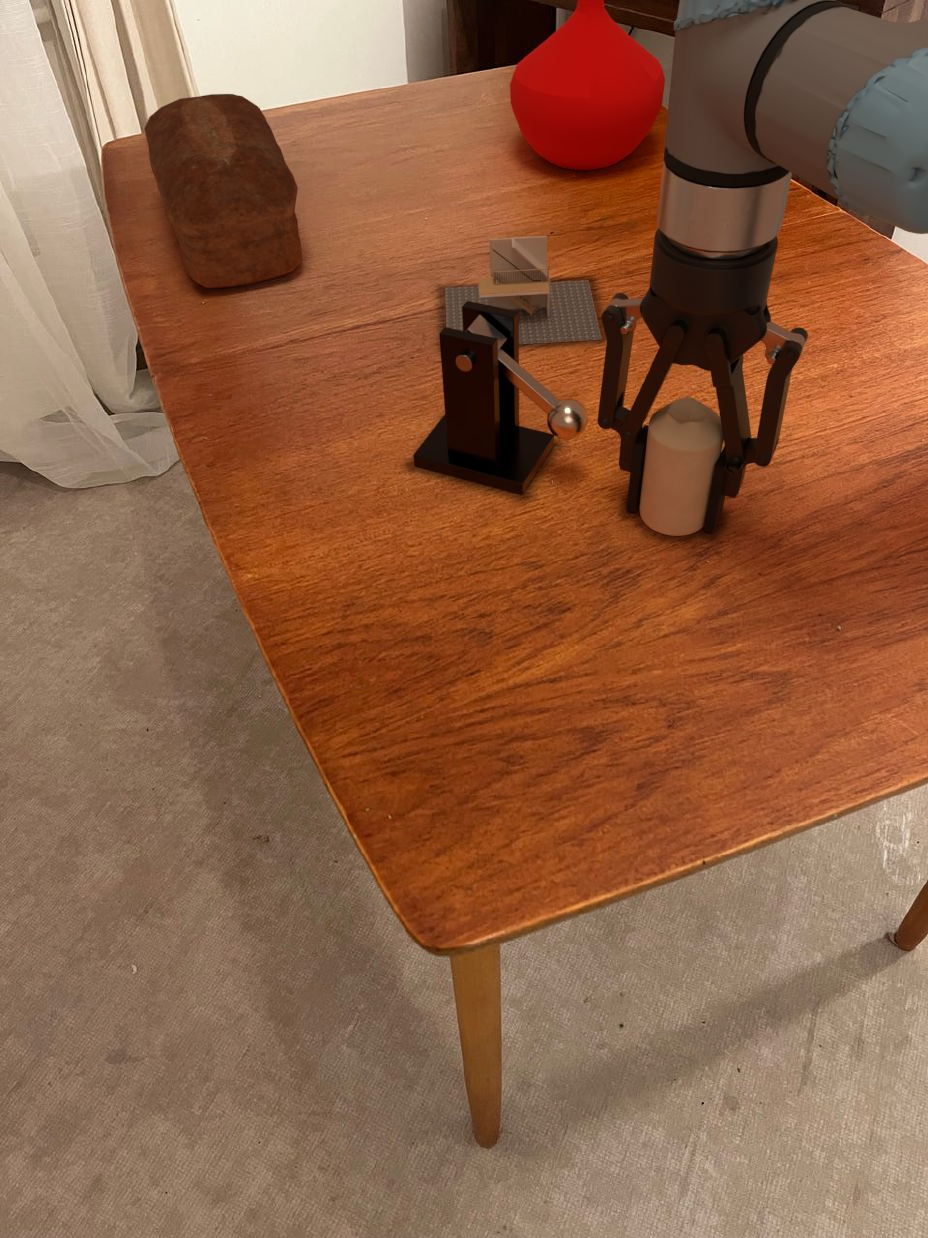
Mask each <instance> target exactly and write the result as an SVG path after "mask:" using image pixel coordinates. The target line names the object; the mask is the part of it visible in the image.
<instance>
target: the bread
mask: <svg viewBox="0 0 928 1238" xmlns="http://www.w3.org/2000/svg"><path fill="white" fill-rule="evenodd" d="M144 133H145V139H146V142H147V145H148V155H149V162H150V168H151V172H152V174H153V176H154V179H155V184H156V186H157V189H158V192H159V194H160V196H161V200H162V206H163V210H164V213H165V215H166V216H167V218H168V220H169V221H171V222H170V223H171V226H172V228H173V232H174V234H175V237H176V239H177V241H178V245H179V247H180V248H179V249H180V253H181V257H182V260H183V264H184V267H185V270H186V272H187V275H189V277H190V278H191V280H192V281H193V282H195V283H197V284H199V285H200V286H202V287H203V288H206V289H221V288H231V287H239V286H245V285H250V284H256V283H260V282H263V281H267V280H270V279H271V280H272V279H274V278H277V277H281V276H284V275H286V274H289V273H291V272H293V271H294V270H295V269H296V268H297V266H299V264H300V263H301V262H302V261H303V253H302V243H301V238H300V234H299V224H298V223H299V222H298V218H297V214H296V203H297V197H298V184H297V182H296V179H295V177H294V174H293V173H292V171H291V169H290V168H289V166H288V164H287V163H286V160H285V157H284V154H283V151H282V148H281V147H280V145H279V143H278V142H277V140H276V137H275V134H274V132H273V130H272V128H271V126H270V124H269V122H268V121H267V118H266V115H264V113H263V111H262V110H261V107H259V106H258V105H257V104H256V103H253V101H251V100H249V99H247V98H246V97H244V96H243V95H238V94H234V93H212V94H205V95H199V96H191V97H182V98H178V99H176V100H173V101H172V102H169V103H167V104H164V105H163V106H160V108H158V109H157V110H156V111H155V112H153V113H152V114H150V116H149V117H148V119H147V122H146V124H145V126H144Z"/></svg>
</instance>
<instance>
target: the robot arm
mask: <svg viewBox="0 0 928 1238" xmlns="http://www.w3.org/2000/svg"><path fill="white" fill-rule="evenodd" d="M673 31H675V32H674V43H673V51H672V52H673V54H672V63H671V74H670V86H669V95H668V105H667V106H668V107H667V115H666V117H667V118H666V125H665V137H664V151H663V159H662V167H661V174H660V175H661V176H660V184H659V191H658V192H659V193H658V199H657V200H658V201H657V209H656V210H657V211H656V218H655V219H656V226H657V227H658V228H657V229H656V230H655V233H654V238H653V239H654V241H653V249H652V258H651V259H652V260H651V266H650V267H651V268H650V278H649V287H648V290H647V291H646V293H645V295H644V297H635V298H629V296H628V295H626V294H625V293H623V292H617V293H615V294H614V295H613V296H612V298H611V300H610V301H609V303H608V304H607V306H606V307H605V309H604V310H603V311H602V313H601V316H600V318H601V319H600V320H601V324H602V327H603V331H604V335H605V339H606V344H605V352H604V353H605V354H604V361H603V371H602V381H601V387H600V395H599V405H598V412H597V420H596V421H597V425H598V427H599V428H601V429H603V430H610V429H612V430H613V431H615V432H616V433H617V434H618V435H619V437H620V443H619V455H618V466H619V469H620V471H624V472H628V473H629V480H628V491H627V500H626V501H627V502H626V511H627V512H630V513H635V514H636V513H637V510H638V509H639V506H640V495H641V487H642V478H643V470H644V461H645V452H646V444H647V435H648V427H649V424H648V425H647V424H644V423H645V421H646V419H647V418H648V416H649V413H650V411H651V409H652V407H653V405H654V403H655V401H656V399H657V398H658V395H659V393H660V391H661V389H662V387H663V385H664V383H665V381H666V379H667V376H668V374H669V373H670V370H671V369H672V366H673V365H674V364H675V365H678V366H680V365H681V366H694V367H697V368H699V369H701V370H703V371H708V372H710V378H711V384H712V387H713V388H715V393H716V398H717V399H716V400H717V406H718V411H719V416H720V419H721V425H722V432H723V438H724V441H723V447H722V451H721V454H720V457H719V459H718V461H717V463H716V465H715V471H714V476H713V481H712V487H711V492H710V497H709V503H708V508H707V514H706V519H705V524H704V526H703V529H702V531H703V532H705V533H710V534H714V531H715V530H716V527H717V524H718V523H719V520H720V518H721V516H722V513H723V509H724V504H725V500H726V497H727V498H732V499H735V498H736V497H737V496H738V495H739V494H740V493H739V492H740V490H741V488H742V485H743V484H744V478H745V476H746V475H745V474H746V470H747V466H748V465H750V464H755V465H756V466H758V467H760V468H764V467H765V468H766V467H768V466H769V465H771V462H772V459H773V458H774V454H775V452H776V450H777V446H778V444H779V441H780V435H781V432H782V426H783V420H784V416H785V415H784V414H785V410H786V409H785V408H786V404H787V399H788V394H789V388H790V382H791V378H792V372H793V368H794V367H795V365H796V364H797V363H798V361H799V359H800V357H801V355H802V352H803V350H804V348H805V345H806V343H807V341H808V338H809V333H808V332H807V330H806V329H805V328H804V327H801V326H799V327H797V326H796V327H794V328H792V329H791V330H788V329H786V328H784V327H782V326H780V324H779V325H778V324H777V323H775V322H772V316H771V315H772V314H771V312H770V310H769V307H768V306H769V305H768V296H769V290H770V286H771V281H772V276H773V272H774V266H775V262H776V257H777V252H778V245H779V240H778V235H779V233H780V231H781V229H782V228H783V223H784V217H785V211H786V206H787V201H788V196H789V190H790V186H791V181H792V175H795V176H796V177H798V178H800V179H801V180H803V181H805V182H807V183H808V184H810V185H812V186H814V187H816V188H817V189H819V190H821V191H822V192H824V193H825V194H827V195H829V196H831V197H833V198H834V199H836V200H838V201H839V202H841V203H842V204H844V205H846V207H847V208H848V209H849V210H850V211H853V212H855V213H857V214H858V215H861V216H862V217H867V216H869V217H870V218H871V219H873V220H875V221H876V220H878V221H882V222H884V223H886V224H889V225H891V226H894V227H896V228H898V229H900V230H902V231H904V232H907V233H911V234H916V235H927V234H928V17H925V18H921V19H917V20H914V21H910V22H900V21H899V22H898V21H890V20H887V19H884V18H881V17H878V16H875V15H871V14H868V13H866V12H862V11H859V10H857V9H855V8H853V7H851V6H849V5H847V4H845V3H843V2H841V1H839V0H679V3H678V10H677V15H676V19H675V20H674V22H673ZM641 319H642V320H643V323H645V325H646V326H647V328H648V330H649V332H650V334H651V335H652V337H653V339H654V340H655V342H656V344H657V345H658V349H657V352H656V354H655V356H654V358H653V360H652V363H651V365H650V367H649V370H648V372H647V373H646V376H645V378H644V380H643V382H642V385H641V387H640V389H639V391H638V393H637V395H636V397H635V399H634V402H633V404H632V405H631V407H630V409H628V408H627V407H625V406H624V404H625V397H626V390H627V384H628V383H627V382H628V377H629V369H630V361H631V356H632V348H633V340H634V335H635V330H636V329H637V328H638V325H639V324H640V322H641ZM759 342H762V343H763V344H764V346H765V352H764V357H765V359H766V363H767V364H769V365H771V367H770V368H769V371H768V374H767V376H766V381H765V386H764V393H763V397H762V398H763V399H762V404H761V411H760V416H759V422H758V429H757V435H756V437H752V430H751V422H750V415H749V409H748V399H747V392H746V385H745V377H744V369H743V367H744V366H743V365H744V355H745V354H746V353H747V352H748V351H750V350H751V349H752V348H753V347H754V346H756V345H757V344H758V343H759Z"/></svg>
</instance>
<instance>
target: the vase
mask: <svg viewBox="0 0 928 1238" xmlns="http://www.w3.org/2000/svg"><path fill="white" fill-rule="evenodd" d="M665 84H666V78H665V73H664V68H663V66H662V64H661V62H660V61H659V59H658V58H656V57H655V56H654V55H653V54H652V53H651V52H650V51H649V50H647V49H646V48H645V47H643V46H642V45H641V44H640V43H639V42H638V41H637V40H635V39H634V38H633V37H632V36H631V35H630V34H629V33H627V31H625V30H624V28H622V27H621V25H619V24H618V23H617V22H616V21H615V20H614V19H613V18H612V17H611V16H610V14H609V13H608V11H607V9H606V8H605V0H577V3H576V7H575V10H574V11H573V13H572V14H571V15H570V16H569V18H568V19H567V20H566V21H565V22H564V23H563V24H562V25H561V26H560V27H559V28H557V30H555V31H554V32H553V33H552V34H551V35H550V36H549V37H547V39H545V40H544V41H543V42H542V43H540V44H539V45H538V46H537V47H536V48H534V49H533V50H532V51H530V53H528V54H527V55H526V56H525V57H523V59H522V60H520V61H519V62H518V63H516V65H515V68H514V71H513V74H512V77H511V80H510V83H509V93H510V95H509V97H510V105H511V106H510V107H511V110H512V112H513V115H514V118H515V120H516V122H517V125H518V127H519V130H520V132H521V135H522V137H523V138H524V139H525V141H526V142H527V143H528V144H529V146H530V147H531V148H532V150H533V151H535V152H536V153H537V155H538V156H540V157H541V158H543V159H544V160H546V161H547V162H548V163H550V164H552V165H553V166H555V167H559V168H562V169H568V170H574V171H593V170H599V169H603V168H608V167H610V166H613V165H616V164H617V163H619V162H621V161H622V160H624V159H625V158H627V156H629V155H630V154H633V152H634V151H635V150H636V149H637V147H638V146H639V145H640V144H641V143H642V142H643V140H644V139H645V138H646V137H647V136H648V134H649V133H650V132H651V130H652V127H653V126H654V124H655V122H656V120H657V118H658V116H659V113H660V111H661V110H662V107H663V100H664V94H665V86H666V85H665Z"/></svg>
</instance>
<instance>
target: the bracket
mask: <svg viewBox="0 0 928 1238" xmlns="http://www.w3.org/2000/svg"><path fill="white" fill-rule="evenodd" d="M479 315H481V316H482V317H484V318H485V319H486V320H487V321H488V322H489V323H490V324H491V325H493V326H494V327H495V328H496V329H497V330H498V331H499V332H501V333H502V334H503V335H504V336H505V337H506V338H507V340H506V341H505V342H504V344H503V345H502V346H501V347H500V348H501V349H502V350H503V351H504V352H505V353H506V354H508V355H509V356H510V357H511V358H512V359H513V360H514V361H516V362H517V363H518V364H519V365H520V344H519V312H518V311H514V310H510V309H505V308H500V307H495V306H490V305H485V304H480V303H475V302H471V301H467V302H466V303H465V304H464V305H463V306H462V317H463V331H461V330H456V329H452V328H447V327H446V326H444V327H443V328H442V329H441V330H440V332H439V333H438V337H439V349H440V350H439V351H440V363H441V376H442V377H441V378H442V390H443V392H442V393H443V404H444V414H443V416H442V417H441V418H440V420H439V421H438V422H437V423H436V424H435V426H434V427H433V429H432V430H431V431H430V433H429V434H428V435H427V436H426V438H425V439H424V440H423V442H422V443H421V444H420V445H419V447H418V448H417V449H416V451H415V452H413V454H412V455H413V456H412V457H413V465H414V467H418V468H422V469H426V470H429V471H433V472H437V473H440V474H445V475H448V476H453V477H455V478H458V479H463V480H467V481H470V482H473V483H478V484H480V485H484V486H488V487H493V488H496V489H500V490H503V491H507V492H511V493H515V494H517V495H523V494H524V493H525V491H526V490H527V488H528V487H529V485H531V482H532V481H533V479H534V477H535V476H536V474H537V472H538V471H539V469H540V468H541V466H542V465H543V463H544V462H545V460H546V458H547V457H548V455H549V453H551V451H552V449H553V447H554V446H555V436H554V435H553V434H552V433H551V432H547V431H541V430H537V429H533V428H530V427H525V426H523V425H522V426H521V425H520V390H519V389H518V388H517V387H516V386H515V385H514V384H512V383H511V382H510V381H509V380H508V379H507V378H506V377H504V376H503V375H502V374H501V373H500V372H499V371H498V339H497V338H493V337H489V336H484V335H480V334H475V333H470V332H466V330H467V329H468V328H469V327H470V325H471V324H472V323H473V322H474V320H475V319H476V318H477V317H478V316H479Z"/></svg>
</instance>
